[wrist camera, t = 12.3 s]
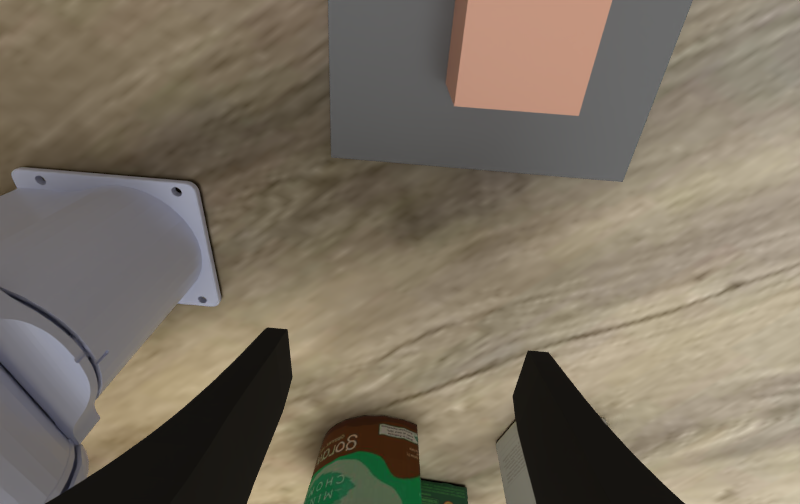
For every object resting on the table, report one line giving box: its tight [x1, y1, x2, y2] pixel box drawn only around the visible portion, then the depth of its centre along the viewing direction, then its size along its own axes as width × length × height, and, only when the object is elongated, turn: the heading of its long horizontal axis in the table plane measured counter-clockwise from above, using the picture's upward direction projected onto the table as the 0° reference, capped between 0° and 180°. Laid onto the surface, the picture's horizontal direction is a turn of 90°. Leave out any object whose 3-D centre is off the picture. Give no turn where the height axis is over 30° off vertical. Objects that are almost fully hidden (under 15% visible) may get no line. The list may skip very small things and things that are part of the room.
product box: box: [496, 418, 608, 504], centre depth 27 cm, size 6×6×7 cm
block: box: [446, 0, 612, 116], centre depth 14 cm, size 4×4×5 cm
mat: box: [328, 0, 693, 182], centre depth 16 cm, size 14×12×1 cm
